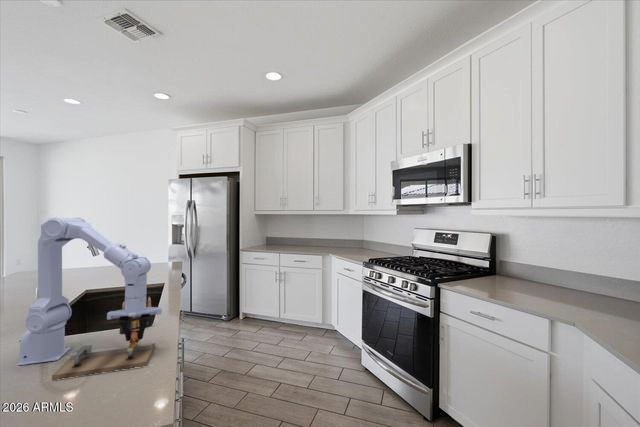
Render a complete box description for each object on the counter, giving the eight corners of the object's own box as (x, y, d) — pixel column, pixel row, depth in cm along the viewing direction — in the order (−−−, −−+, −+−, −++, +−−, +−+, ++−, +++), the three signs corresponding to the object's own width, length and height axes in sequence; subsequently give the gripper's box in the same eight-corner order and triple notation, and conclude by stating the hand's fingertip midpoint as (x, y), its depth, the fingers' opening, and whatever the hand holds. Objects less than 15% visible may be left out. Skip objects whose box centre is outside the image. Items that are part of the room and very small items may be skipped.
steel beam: (69, 360, 83) (69, 355, 83) (72, 357, 84) (72, 352, 84) (150, 349, 90) (150, 344, 90) (151, 347, 92) (151, 342, 92)
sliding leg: (124, 359, 83) (124, 338, 83) (130, 348, 90) (131, 329, 90) (135, 357, 84) (135, 336, 84) (140, 347, 91) (141, 328, 91)
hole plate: (51, 381, 75) (52, 375, 75) (74, 358, 87) (75, 353, 87) (146, 366, 83) (146, 361, 83) (155, 347, 95) (155, 342, 95)
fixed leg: (70, 367, 79) (70, 357, 79) (81, 356, 85) (82, 346, 85) (80, 366, 80) (81, 355, 80) (91, 354, 86) (91, 344, 86)
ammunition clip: (150, 325, 114) (151, 295, 115) (152, 326, 113) (152, 296, 113) (119, 333, 106) (120, 301, 106) (121, 334, 105) (121, 302, 105)
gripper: (103, 301, 83) (102, 348, 83) (159, 297, 88) (158, 341, 88) (112, 295, 89) (110, 338, 89) (163, 291, 94) (162, 332, 94)
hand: (134, 339), depth 89 cm, fingers closed on sliding leg, 3 cm apart
